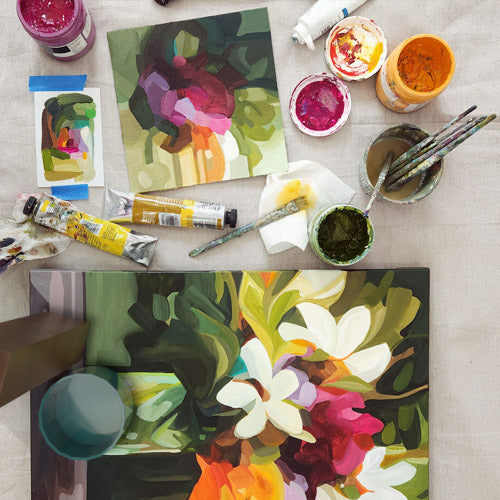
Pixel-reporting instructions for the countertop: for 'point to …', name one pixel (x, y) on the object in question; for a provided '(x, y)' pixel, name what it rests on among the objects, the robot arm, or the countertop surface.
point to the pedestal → (37, 351)
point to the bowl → (86, 412)
